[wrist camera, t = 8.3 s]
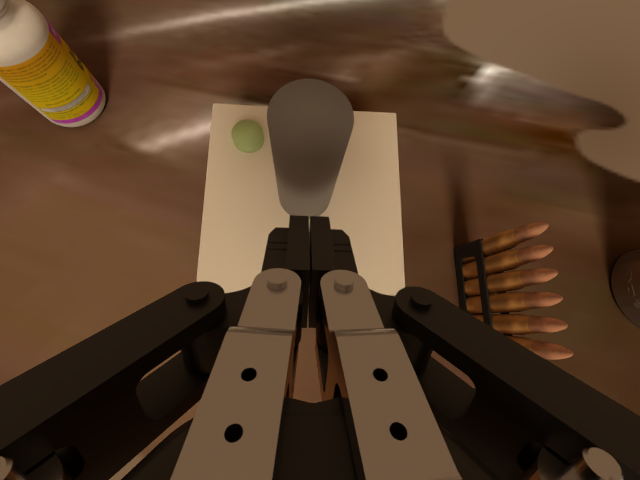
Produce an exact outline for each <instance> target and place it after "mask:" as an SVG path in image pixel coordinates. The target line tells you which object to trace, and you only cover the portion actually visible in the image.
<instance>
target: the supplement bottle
mask: <svg viewBox="0 0 640 480" xmlns="http://www.w3.org/2000/svg"><path fill="white" fill-rule="evenodd" d="M0 81H2V82H3V83H4V84H5V85H6V86H8V87H9V88H10V89H11V90H13V91H14V92H15V93H16V94H18V95H19V96H20V97H21V98H22V99H24V100H25V101H26V102H27V103H29V104H30V105H31V106H32V107H33V108H35V109H36V110H37V111H38V112H40V113H41V114H42V115H43V116H45V117H46V118H47V119H48V120H50V121H51V122H53V123H55V124H57V125H60V126H64V127H78V126H83V125H85V124H88V123H90V122H91V121H93V120H95V119H96V118H97V117H98V116H99V115H100V113H101V112H102V110H103V108H104V106H105V101H106V97H105V92H104V90H103V88H102V86H101V85H100V84H99V82H98V81H97V80H96V79H95V77H94V76H93V75H92V74H91V73H90V71H89V70H88V69H87V68H86V67H85V65H84V64H83V63H82V62H81V61H80V59H79V58H78V57H77V56H76V55H75V53H74V52H73V51H72V50H71V49H70V47H69V46H68V45H67V44H66V43H65V42H64V40H63V39H62V38H61V37H60V36H59V34H58V33H57V32H56V31H55V30H54V29H53V27H52V26H51V25H50V24H49V22H48V21H47V20H46V19H45V18H44V16H43V15H42V14H41V13H40V12H39V11H38V10H37V9H36V8H35V7H34V6H33V5H32V4H30V3H29V2H27V1H25V0H0Z"/></svg>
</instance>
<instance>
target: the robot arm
mask: <svg viewBox="0 0 640 480" xmlns="http://www.w3.org/2000/svg"><path fill="white" fill-rule="evenodd" d="M611 286H612V291H613V294H614V298H615V300H616V302H617V304H618V306H619V308H620V309H621V310H622V312H623V313H624V314H625V316H627V317H628V318H629V319H630V320H631V321H632V322H633V323H634V324H636V325H637V326H639V327H640V249H638V250H633V251H629V252H627V253H625V254H623V255H622V256H621V257H620V258H619V259H618V260H617V261H616V263H615V264H614V267H613V270H612V274H611ZM308 310H309V328H316V342H315V352H316V359H317V367H318V375H319V382H320V390H321V398H322V402H318V403H308V402H304V401H300V400H296V399H293V393H294V384H295V375H296V366H297V358H298V348H299V342H300V340H301V328H307V315H308ZM180 349H181V353H179V354H178V355H176V356H175V357H174V358H172V359H171V360H169V361H168V362H167V363H165V364H164V365H162V366H161V367H159V368H158V369H157V370H155V371H154V372H152V373H151V374H150V375H148V376H147V377H145V378H144V379H143V380H141V378H142V377H143V376H144V375H145V374H146V373H148V372H149V371H150V370H152V369H153V368H155V367H156V366H158V365H159V364H160V363H162V362H163V361H165V360H166V359H168V358H169V357H170V356H172V355H173V354H175V353H176V352H177V351H179V350H180ZM433 350H434V351H435V352H436V353H438V354H439V355H440V356H442V357H443V358H445V359H446V360H447V361H449V362H450V363H451V364H453V365H454V366H455V367H457V368H458V369H459V370H461V371H462V372H464V373H465V374H466V375H467V376H468V377H469V378H470V379H471V380H472V381H473V383H474V385H475V388H476V389H474V388H472V387H471V386H470V385H468V384H467V383H466V382H464V381H463V380H462V379H460V378H459V377H458V376H456V375H455V374H454V373H452V372H451V371H450V370H448V369H447V368H446V367H444V366H443V365H442V364H440V363H439V362H438V361H436V360H435V359H434V358H432V357H431V353H432V351H433ZM140 380H141V381H140ZM139 381H140V382H139ZM200 399H201V400H200ZM199 400H200V403H199V406H198V408H197V411H196V414H195V416H194V418H192V419H191V420H189V421H188V422H186V423H184V424H183V425H181V426H180V427H178V428H177V429H176V430H175V431H173V432H172V433H171V434H169V435H168V436H167V437H166V438H165V439H164V440H163V441H162V442H161V443H159V444H158V445H157V446H156V447H155V448H154V449H153V450H152V451H151V452H150V453H149V454H148V455H147V456H146V457H145V458H143V459H142V460H141V461H140V462H139V463H138V464H137V465H136V466H135V467H134V468H133V469H132V470H131V471H130V472H129V473H128V474H127V475H126V476H124V477H123V478H122V479H121V480H640V416H639V415H637V414H635V413H634V412H632V411H630V410H629V409H627V408H625V407H624V406H622V405H620V404H619V403H617V402H615V401H614V400H612V399H610V398H609V397H607V396H605V395H604V394H602V393H600V392H599V391H597V390H595V389H594V388H592V387H590V386H589V385H587V384H585V383H584V382H582V381H580V380H579V379H577V378H575V377H574V376H572V375H570V374H569V373H567V372H565V371H564V370H562V369H560V368H559V367H557V366H555V365H554V364H552V363H550V362H549V361H547V360H545V359H544V358H542V357H540V356H539V355H537V354H535V353H534V352H532V351H530V350H529V349H527V348H525V347H524V346H522V345H520V344H519V343H517V342H515V341H514V340H512V339H510V338H509V337H507V336H505V335H504V334H502V333H500V332H499V331H497V330H495V329H494V328H492V327H490V326H489V325H487V324H485V323H484V322H482V321H480V320H479V319H477V318H475V317H474V316H472V315H470V314H469V313H467V312H465V311H464V310H462V309H460V308H459V307H457V306H455V305H454V304H452V303H450V302H449V301H447V300H445V299H444V298H442V297H440V296H439V295H437V294H435V293H434V292H432V291H430V290H427V289H424V288H421V287H405V288H402V289H400V290H399V291H398V292H397V294H396V297H393V296H389V295H385V294H381V293H378V292H375V291H373V290H371V289H369V288H368V285H367V283H366V281H365V279H364V278H363V277H362V276H360V275H359V274H358V271H357V267H356V263H355V258H354V254H353V250H352V246H351V242H350V238H349V236H348V235H347V234H346V233H345V232H344V231H343V230H340V229H331V227H330V220H329V217H324V216H310V225H309V216H296V215H290V220H289V228H281V227H275V228H274V229H273V230H272V231H271V232H270V233H269V235H268V240H267V245H266V250H265V255H264V260H263V265H262V270H261V273H259V274H258V275H257V276H256V277H255V278H254V280H253V283H252V285H251V286H250V287H248V288H246V289H243V290H239V291H235V292H230V293H224V290H223V288H222V287H221V286H220V285H218V284H216V283H213V282H208V281H199V282H193V283H190V284H187V285H184V286H182V287H180V288H179V289H177V290H175V291H173V292H171V293H169V294H168V295H166V296H164V297H162V298H160V299H158V300H157V301H155V302H153V303H151V304H149V305H147V306H146V307H144V308H142V309H140V310H138V311H136V312H135V313H133V314H131V315H129V316H127V317H125V318H124V319H122V320H120V321H118V322H116V323H114V324H113V325H111V326H109V327H107V328H105V329H103V330H102V331H100V332H98V333H96V334H94V335H92V336H91V337H89V338H87V339H85V340H83V341H81V342H79V343H78V344H76V345H74V346H72V347H70V348H68V349H67V350H65V351H63V352H61V353H59V354H57V355H56V356H54V357H52V358H50V359H48V360H46V361H45V362H43V363H41V364H39V365H37V366H35V367H34V368H32V369H30V370H28V371H26V372H24V373H23V374H21V375H19V376H17V377H15V378H13V379H12V380H10V381H8V382H6V383H4V384H2V385H1V386H0V480H109V479H110V478H111V477H112V476H114V475H115V474H116V473H117V472H118V471H119V470H120V469H121V468H123V467H124V466H125V465H126V464H127V463H128V462H130V461H131V460H132V459H133V458H134V457H135V456H136V455H138V454H139V453H140V452H141V451H142V450H143V449H144V448H146V447H147V446H148V445H149V444H150V443H151V442H152V441H154V440H155V439H156V438H157V437H158V436H159V435H160V434H162V433H163V432H164V431H165V430H166V429H167V428H168V427H170V426H171V425H172V424H173V423H174V422H175V421H176V420H178V419H179V418H180V417H181V416H182V415H183V414H184V413H186V412H187V411H188V410H189V409H190V408H191V407H192V406H194V405H195V404H196V403H197V402H198V401H199Z"/></svg>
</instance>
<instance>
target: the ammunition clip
mask: <svg viewBox="0 0 640 480" xmlns="http://www.w3.org/2000/svg"><path fill="white" fill-rule="evenodd" d="M548 226H549V224H548V223H545V222H537V223H531V224H527V225H523V226H521V227H518V228H514V229H512V230H506V231H502V232H500V233H497V234H495V235H492V236H490V237H488V238H485V239H479V240H476V241H473V242H470V243H467V244H464V245H461V246H459V247H456V248H454V259H455V268H456V277H457V287H458V296H459V306H460V309H462V310H464V311H465V312H467V313H469V314H470V315H472V316H474V317H475V318H477V319H479V320H480V321H482V322H484V323H485V324H487V325H489V326H490V327H492V328H494V329H495V330H497V331H499V332H500V333H502V334H504V335H505V336H507V337H509V338H510V339H512V340H514V341H515V342H517V343H519V344H520V345H522V346H524V347H525V348H527V349H529V350H530V351H532V352H534V353H535V354H537V355H539V356H540V357H542V358H544V359H564V358H568V357H571V356H572V355H573V352H572V351H570V350H569V349H567V348H565V347H563V346H560V345H557V344H553V343H548V342H541V341H536V340H531V339H529V338H525V337H516V336H513V335H512V334H515V335H525V334H529V333H552V332H557V331H560V330H563V329H565V328H567V327H568V324H567V323H565V322H563V321H561V320H558V319H554V318H549V317H541V316H527V315H522V314H509V312H520V311H524V310H527V309H534V308H542V307H548V306H552V305H554V304H557V303H559V302H560V301H561V300H562V299H563V297H562V296H560V295H558V294H554V293H548V292H525V293H522V292H508V293H506V291H513V290H518V289H521V288H523V287H526V286H531V285H535V284H540V283H543V282H546V281H548V280H550V279H552V278H554V277H555V276H556V275H557V274H558V272H557V271H556V270H553V269H546V268H537V269H530V270H522V271H508V270H512V269H515V268H517V267H519V266H521V265H524V264H527V263H529V262H533V261H536V260H538V259H541V258H543V257H545V256H546V255H548V254H549V253H550V252H551V251H552V250H553V247H552V246H548V245H535V246H530V247H525V248H521V249H517V250H509V249H512V248H514V247H515V246H517V245H518V244H520V243H523V242H525V241H527V240H529V239H532V238H534V237H536V236H538V235H539V234H541V233H542V232H543V231H545V230H546V229H547V228H548ZM506 250H508V251H506ZM503 251H504V252H503ZM503 271H507V272H503ZM491 274H494V275H491ZM487 275H489V276H487ZM492 293H498V294H492ZM488 294H492V295H488ZM491 313H501V314H491Z"/></svg>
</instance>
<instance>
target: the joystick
mask: <svg viewBox="0 0 640 480" xmlns="http://www.w3.org/2000/svg"><path fill="white" fill-rule="evenodd" d="M290 215H296V216H309V225H310V216H324V217H329V220H330V227H331V229H340V230H343V231H344V232H345V233H346V234H347V235H348V236H349V238H350V242H351V246H352V250H353V254H354V258H355V263H356V267H357V271H358V274H359V275H360V276H362V277H363V278H364V279H365V281H366V283H367V285H368V288H369V289H371V290H373V291H375V292H378V293H381V294H385V295H396V294H397V292H398V291H399V290H400V289H402V288H405V279H404V259H403V240H402V221H401V201H400V182H399V162H398V143H397V124H396V113H382V112H363V111H353V109H352V106H351V104H350V102H349V100H348V98H347V97H346V96H345V95H344V93H343V92H342V91H340V90H339V89H338V88H337V87H335V86H334V85H332V84H330V83H328V82H325V81H322V80H318V79H299V80H295V81H292V82H290V83H288V84H286V85H284V86H283V87H281V88H280V89H279V90H278V91H277V92H276V93H275V94H274V95H273V97H272V98H271V100H270V102H269V105H268V106H251V105H233V104H214V103H213V111H212V121H211V132H210V143H209V153H208V164H207V175H206V186H205V196H204V207H203V218H202V228H201V239H200V250H199V260H198V271H197V282H199V281H208V282H213V283H216V284H218V285H220V286H221V287H222V288H223V290H224V293H230V292H235V291H239V290H243V289H246V288H248V287H250V286H251V285H252V283H253V280H254V278H255V277H256V276H257V275H258V274H259V273H261V270H262V265H263V260H264V255H265V250H266V245H267V240H268V235H269V233H270V232H271V231H272V230H273V229H274V228H275V227H281V228H289V220H290Z"/></svg>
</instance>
